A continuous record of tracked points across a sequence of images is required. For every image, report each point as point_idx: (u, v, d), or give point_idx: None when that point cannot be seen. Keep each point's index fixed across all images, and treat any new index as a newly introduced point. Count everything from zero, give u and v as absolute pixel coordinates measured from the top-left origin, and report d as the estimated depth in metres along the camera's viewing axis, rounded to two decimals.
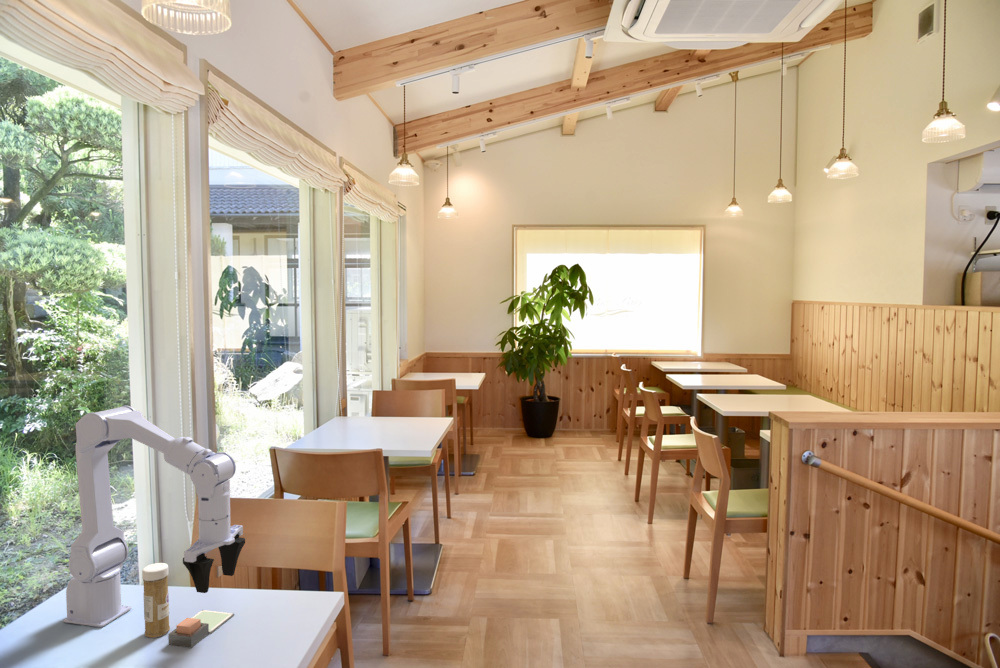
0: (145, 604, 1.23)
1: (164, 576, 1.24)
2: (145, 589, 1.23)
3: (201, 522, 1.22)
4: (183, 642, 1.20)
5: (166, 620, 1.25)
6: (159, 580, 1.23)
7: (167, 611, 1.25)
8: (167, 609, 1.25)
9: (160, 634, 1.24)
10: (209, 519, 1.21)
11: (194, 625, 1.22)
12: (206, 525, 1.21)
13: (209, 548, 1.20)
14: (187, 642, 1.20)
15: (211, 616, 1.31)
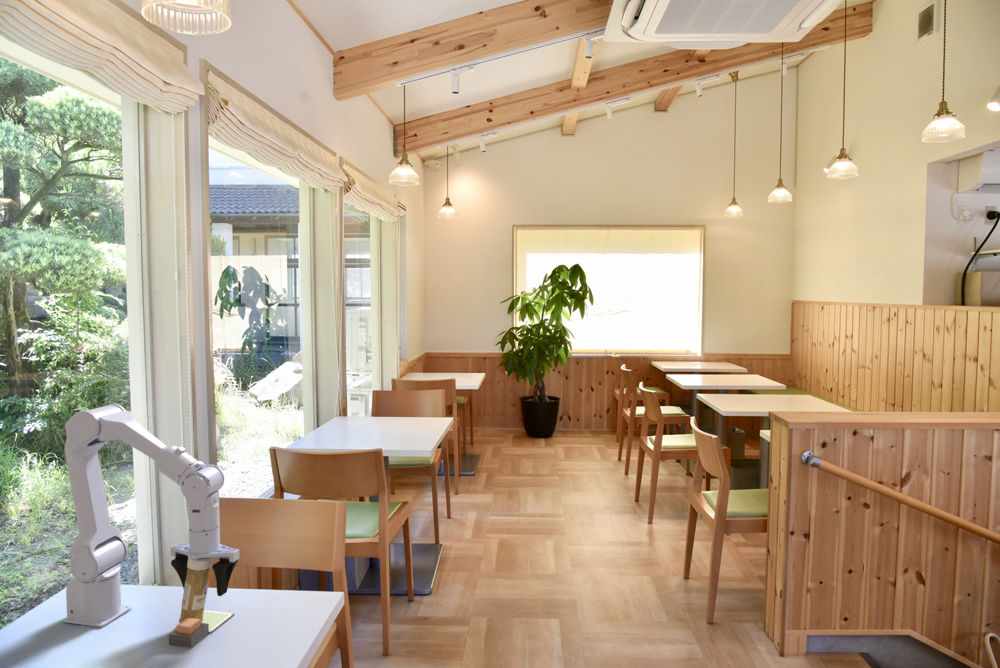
0: (184, 591, 1.26)
1: (205, 568, 1.27)
2: (187, 576, 1.26)
3: None
4: (183, 642, 1.20)
5: (200, 612, 1.27)
6: (199, 571, 1.26)
7: (202, 603, 1.27)
8: (203, 602, 1.27)
9: None
10: (200, 530, 1.25)
11: (194, 625, 1.22)
12: None
13: (182, 552, 1.27)
14: (187, 642, 1.20)
15: (211, 616, 1.31)
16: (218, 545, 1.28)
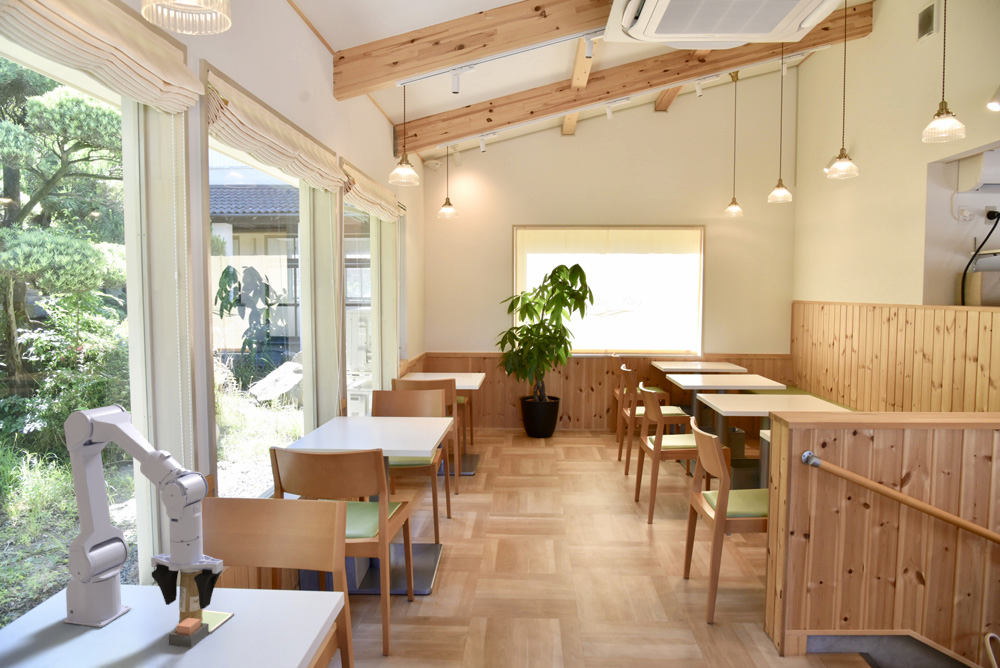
0: (180, 594, 1.26)
1: (198, 570, 1.26)
2: (180, 579, 1.26)
3: None
4: (183, 642, 1.20)
5: (198, 612, 1.27)
6: (192, 573, 1.25)
7: None
8: None
9: None
10: (178, 540, 1.20)
11: (194, 625, 1.22)
12: None
13: (162, 563, 1.22)
14: (187, 642, 1.20)
15: (211, 616, 1.31)
16: (201, 555, 1.23)
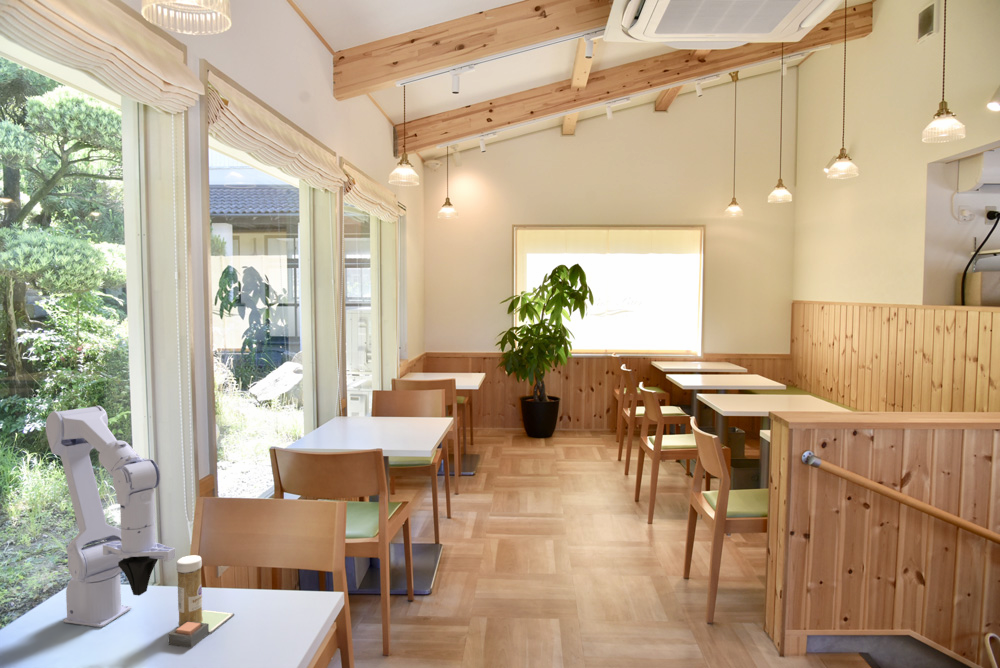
0: (178, 594, 1.26)
1: (195, 569, 1.26)
2: (178, 580, 1.26)
3: None
4: (183, 642, 1.20)
5: (197, 612, 1.27)
6: (190, 573, 1.25)
7: (198, 603, 1.27)
8: (199, 602, 1.27)
9: None
10: (125, 527, 1.18)
11: (194, 629, 1.22)
12: None
13: (114, 550, 1.20)
14: (187, 642, 1.20)
15: (211, 616, 1.31)
16: (153, 543, 1.21)
